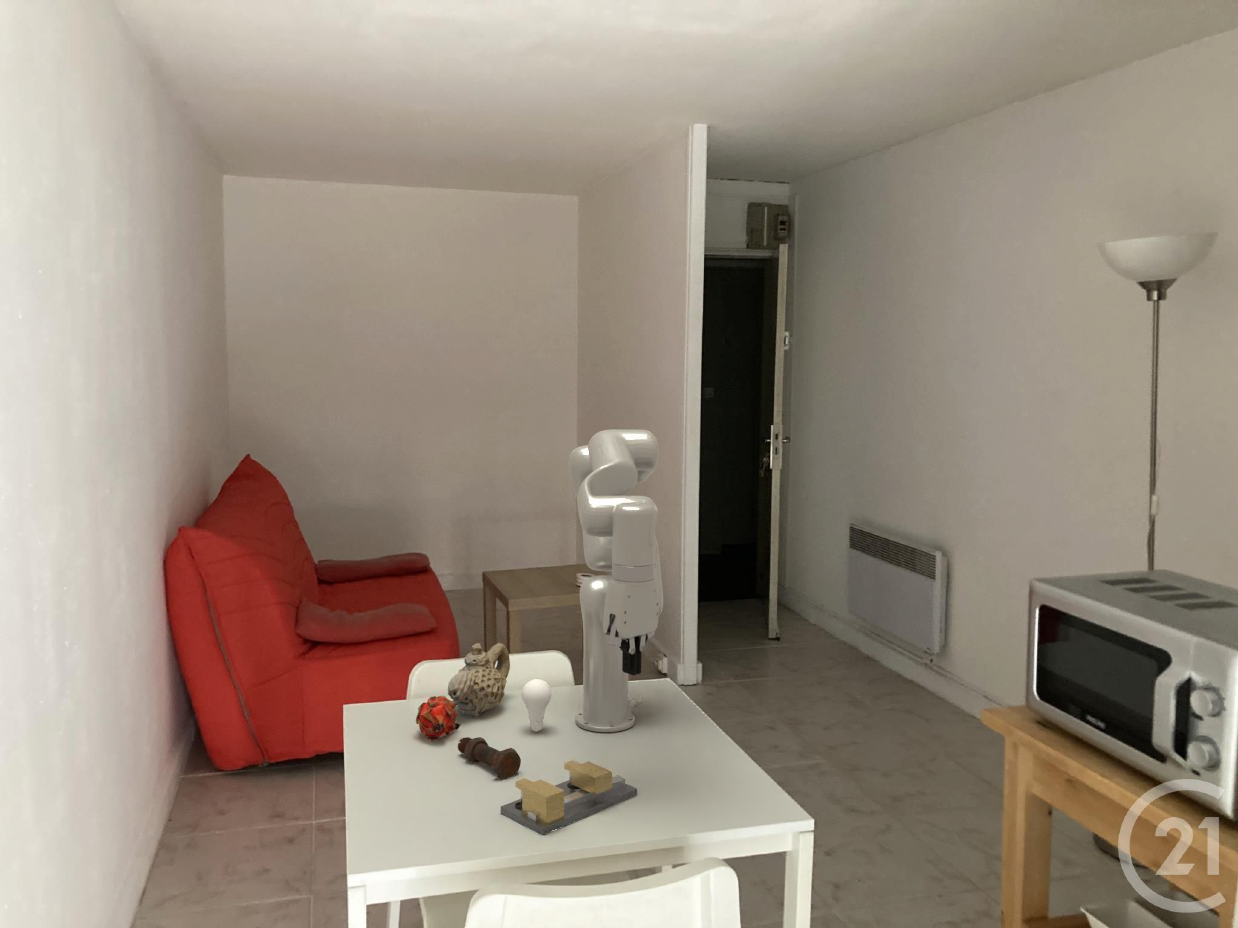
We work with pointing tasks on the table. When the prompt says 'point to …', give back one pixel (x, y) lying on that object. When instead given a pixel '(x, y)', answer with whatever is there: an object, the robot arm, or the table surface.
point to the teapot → (480, 680)
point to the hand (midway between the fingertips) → (631, 672)
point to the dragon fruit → (437, 717)
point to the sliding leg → (589, 776)
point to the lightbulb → (536, 701)
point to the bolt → (491, 756)
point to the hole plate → (571, 811)
